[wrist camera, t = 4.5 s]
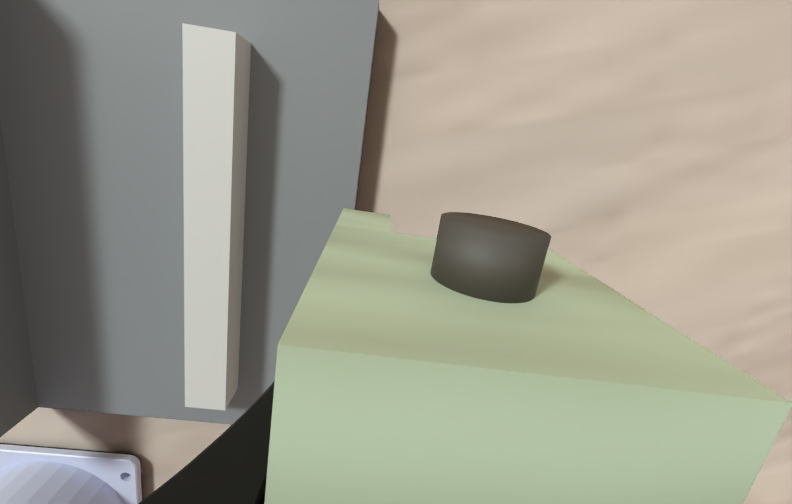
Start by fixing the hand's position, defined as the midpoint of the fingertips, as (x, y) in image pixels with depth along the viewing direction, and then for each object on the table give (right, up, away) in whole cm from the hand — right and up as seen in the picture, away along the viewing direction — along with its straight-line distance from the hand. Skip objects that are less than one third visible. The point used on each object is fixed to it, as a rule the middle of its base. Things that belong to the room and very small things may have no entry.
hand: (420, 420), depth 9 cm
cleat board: (-9, +5, +7) cm, 13 cm away
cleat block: (0, +1, +2) cm, 3 cm away
